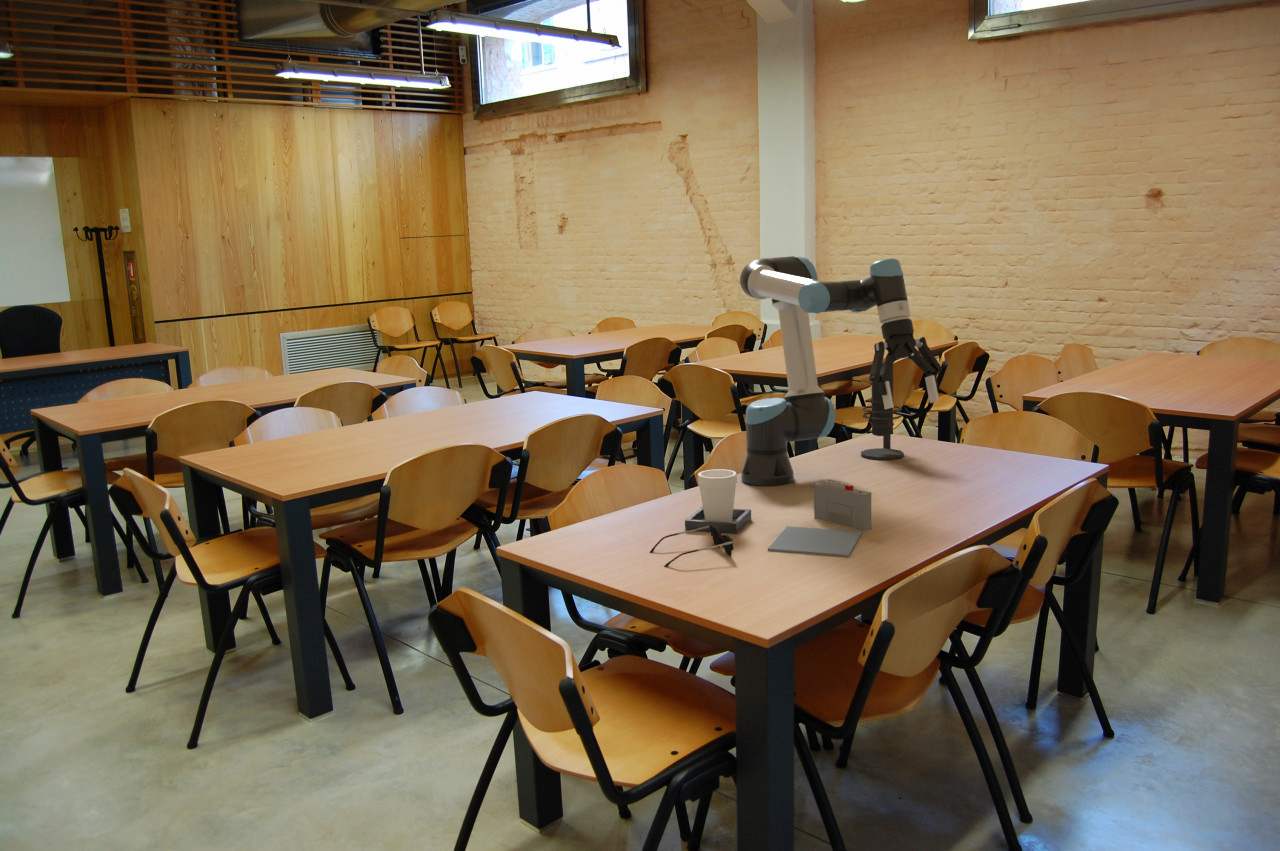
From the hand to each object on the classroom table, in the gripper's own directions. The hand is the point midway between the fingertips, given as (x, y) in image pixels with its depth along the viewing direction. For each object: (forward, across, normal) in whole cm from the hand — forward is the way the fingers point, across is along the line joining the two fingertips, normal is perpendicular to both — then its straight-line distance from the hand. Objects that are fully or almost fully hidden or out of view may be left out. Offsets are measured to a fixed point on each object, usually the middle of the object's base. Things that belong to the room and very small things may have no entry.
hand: (912, 405), depth 237 cm
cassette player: (+26, -21, +8) cm, 34 cm away
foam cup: (+21, -47, +22) cm, 56 cm away
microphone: (+10, +33, +63) cm, 72 cm away
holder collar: (+21, -47, +22) cm, 56 cm away
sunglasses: (+27, -63, +5) cm, 69 cm away
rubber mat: (+28, -34, -1) cm, 44 cm away
